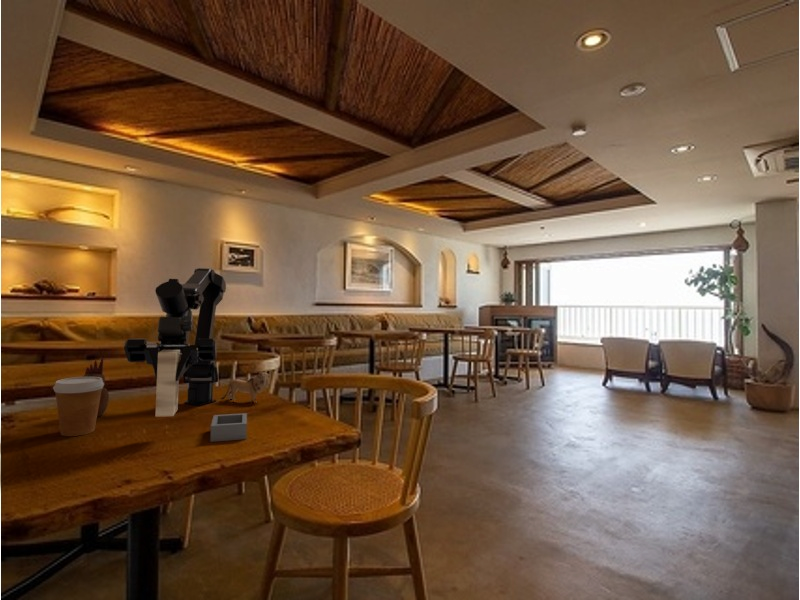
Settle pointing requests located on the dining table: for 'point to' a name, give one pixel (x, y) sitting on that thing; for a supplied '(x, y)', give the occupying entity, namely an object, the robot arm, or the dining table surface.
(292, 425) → the dining table surface
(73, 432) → the disposable coffee cup
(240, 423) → the end cap
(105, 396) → the wooden figurine
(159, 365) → the slat
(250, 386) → the lion figurine
